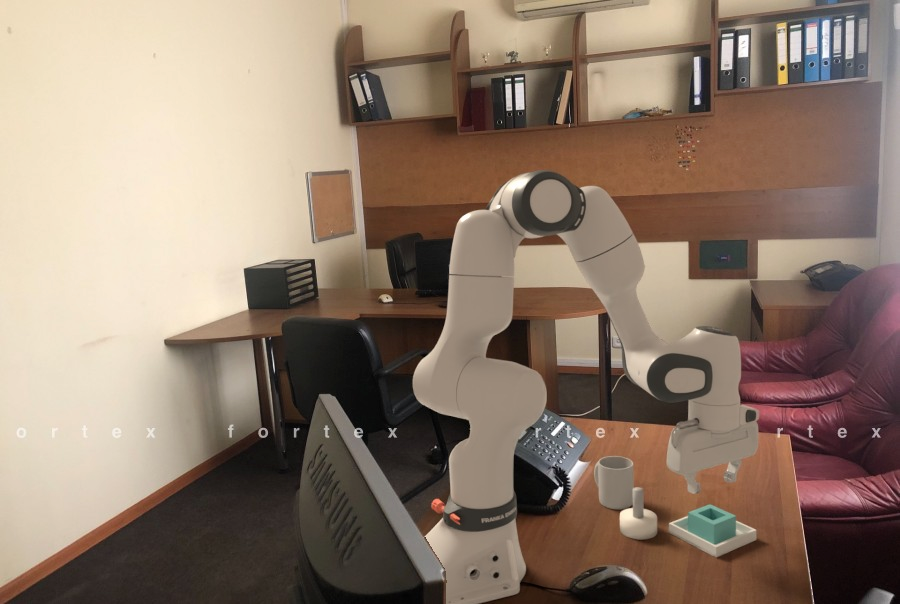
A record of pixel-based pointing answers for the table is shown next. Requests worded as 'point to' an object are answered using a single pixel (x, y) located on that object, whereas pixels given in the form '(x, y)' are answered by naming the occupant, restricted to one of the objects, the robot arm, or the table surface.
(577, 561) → the table surface
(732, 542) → the tray
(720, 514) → the teal hollow block
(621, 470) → the cup
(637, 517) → the peg stand
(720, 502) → the table surface
